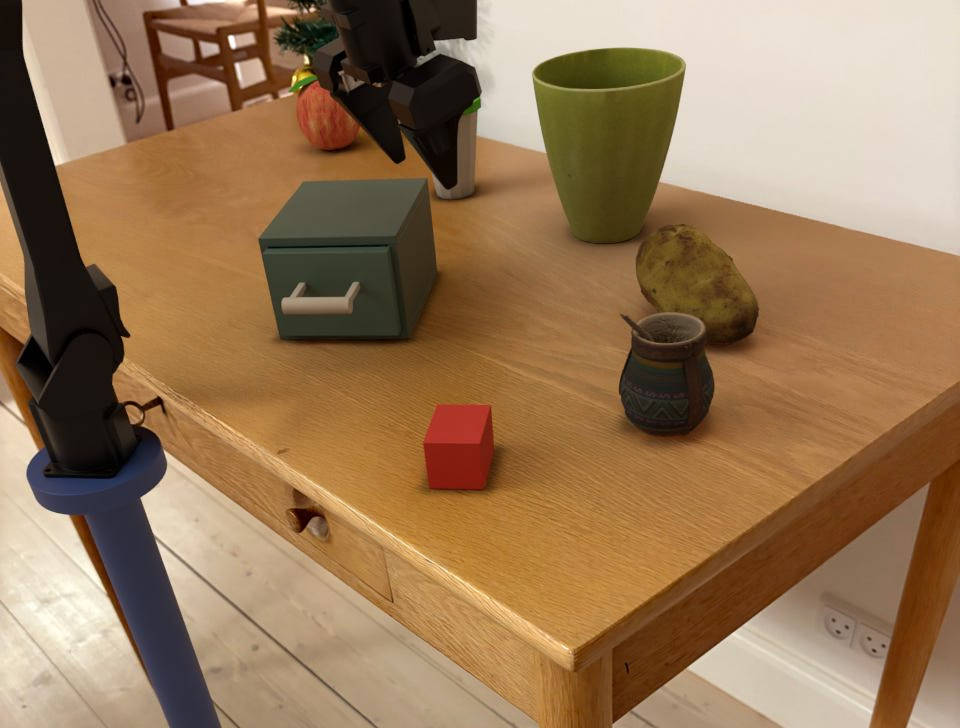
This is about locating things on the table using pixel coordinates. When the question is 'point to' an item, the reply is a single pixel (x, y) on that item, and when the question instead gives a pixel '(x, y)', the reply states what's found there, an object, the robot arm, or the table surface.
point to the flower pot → (608, 134)
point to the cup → (463, 156)
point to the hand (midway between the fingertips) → (425, 174)
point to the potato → (696, 282)
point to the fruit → (323, 116)
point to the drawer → (333, 290)
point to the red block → (459, 447)
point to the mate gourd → (667, 374)
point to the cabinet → (365, 233)
